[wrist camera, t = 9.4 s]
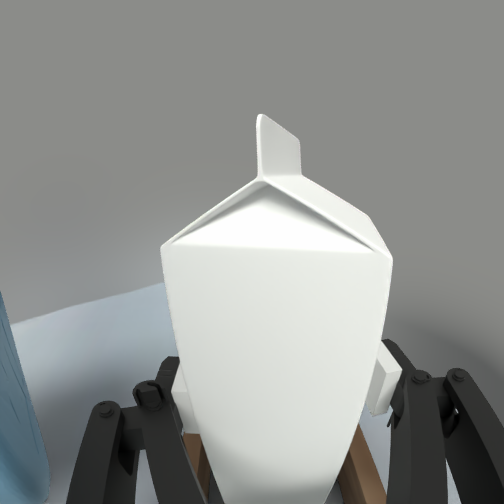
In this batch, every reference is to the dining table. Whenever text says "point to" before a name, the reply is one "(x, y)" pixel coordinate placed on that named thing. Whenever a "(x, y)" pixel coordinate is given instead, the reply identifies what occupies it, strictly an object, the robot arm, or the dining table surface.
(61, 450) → the dining table surface
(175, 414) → the robot arm
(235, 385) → the milk
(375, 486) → the post bracket
